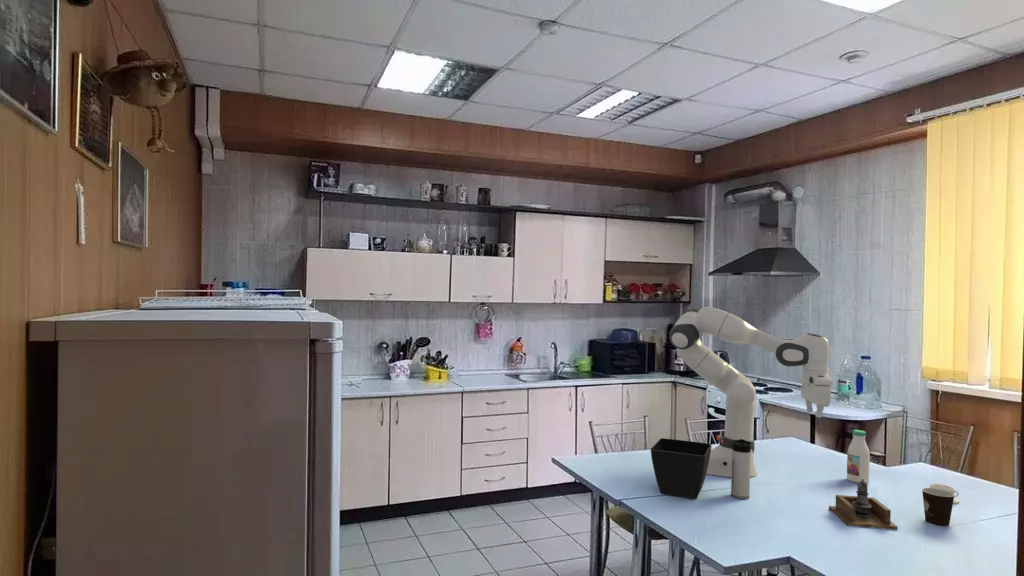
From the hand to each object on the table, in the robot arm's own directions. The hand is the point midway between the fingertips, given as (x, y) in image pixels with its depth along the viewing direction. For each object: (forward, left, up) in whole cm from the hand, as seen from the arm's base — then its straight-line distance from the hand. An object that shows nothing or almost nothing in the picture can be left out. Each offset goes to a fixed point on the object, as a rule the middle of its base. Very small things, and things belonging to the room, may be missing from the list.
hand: (814, 414), depth 223 cm
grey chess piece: (+8, -24, -28) cm, 38 cm away
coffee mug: (+32, -21, -29) cm, 48 cm away
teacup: (+46, +4, -30) cm, 55 cm away
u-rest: (+7, -24, -29) cm, 39 cm away
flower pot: (-49, -11, -29) cm, 58 cm away
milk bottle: (+24, +20, -29) cm, 43 cm away
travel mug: (-28, -11, -29) cm, 42 cm away
